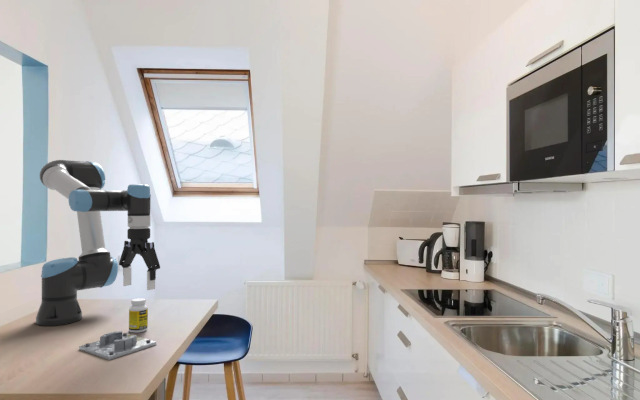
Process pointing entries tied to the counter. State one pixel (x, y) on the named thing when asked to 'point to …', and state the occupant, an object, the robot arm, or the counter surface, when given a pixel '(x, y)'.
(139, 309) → the pill bottle
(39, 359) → the counter surface
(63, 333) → the counter surface
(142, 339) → the collar
